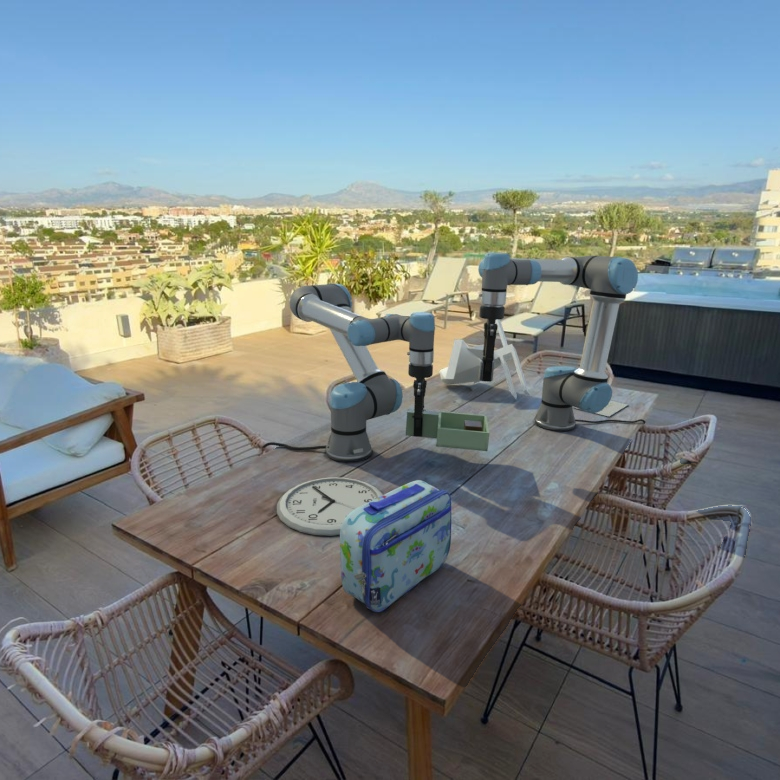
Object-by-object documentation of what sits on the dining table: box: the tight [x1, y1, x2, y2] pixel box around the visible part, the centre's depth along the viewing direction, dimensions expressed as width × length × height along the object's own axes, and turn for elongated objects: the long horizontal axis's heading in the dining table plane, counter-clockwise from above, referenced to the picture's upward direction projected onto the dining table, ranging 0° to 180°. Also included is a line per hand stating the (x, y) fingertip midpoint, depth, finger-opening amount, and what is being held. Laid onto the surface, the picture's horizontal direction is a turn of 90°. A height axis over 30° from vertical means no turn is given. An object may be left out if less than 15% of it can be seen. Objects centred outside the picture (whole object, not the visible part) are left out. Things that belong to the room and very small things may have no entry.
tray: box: [405, 408, 490, 452], centre depth 166 cm, size 26×16×8 cm, turn 83°
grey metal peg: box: [479, 360, 495, 383], centre depth 165 cm, size 4×4×6 cm
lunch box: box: [339, 479, 452, 613], centre depth 109 cm, size 26×11×21 cm, turn 134°
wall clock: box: [276, 476, 385, 537], centre depth 142 cm, size 30×2×30 cm
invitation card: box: [573, 400, 629, 418], centre depth 226 cm, size 21×1×15 cm
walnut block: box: [464, 420, 482, 432], centre depth 162 cm, size 5×5×6 cm
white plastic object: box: [438, 319, 531, 400], centre depth 245 cm, size 37×45×31 cm
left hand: (418, 433), depth 168 cm, fingers closed on tray, 3 cm apart
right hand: (486, 378), depth 166 cm, fingers closed on grey metal peg, 4 cm apart
